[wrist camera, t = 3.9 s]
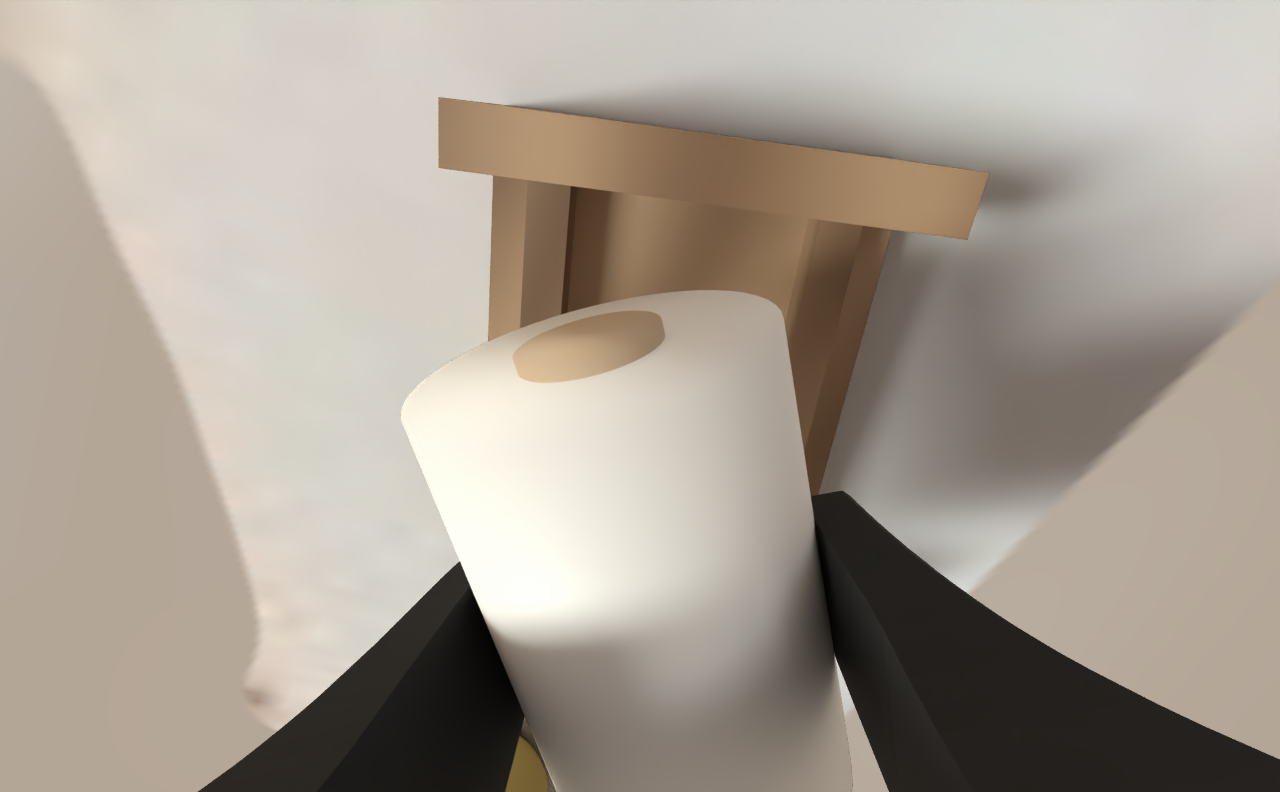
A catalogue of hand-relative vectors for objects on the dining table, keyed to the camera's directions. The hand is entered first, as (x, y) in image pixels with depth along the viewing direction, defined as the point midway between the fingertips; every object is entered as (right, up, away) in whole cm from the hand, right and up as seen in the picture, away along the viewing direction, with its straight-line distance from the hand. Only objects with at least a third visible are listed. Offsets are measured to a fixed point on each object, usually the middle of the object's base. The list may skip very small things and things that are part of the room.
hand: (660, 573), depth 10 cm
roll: (0, +1, +2) cm, 2 cm away
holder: (0, +3, +8) cm, 9 cm away
